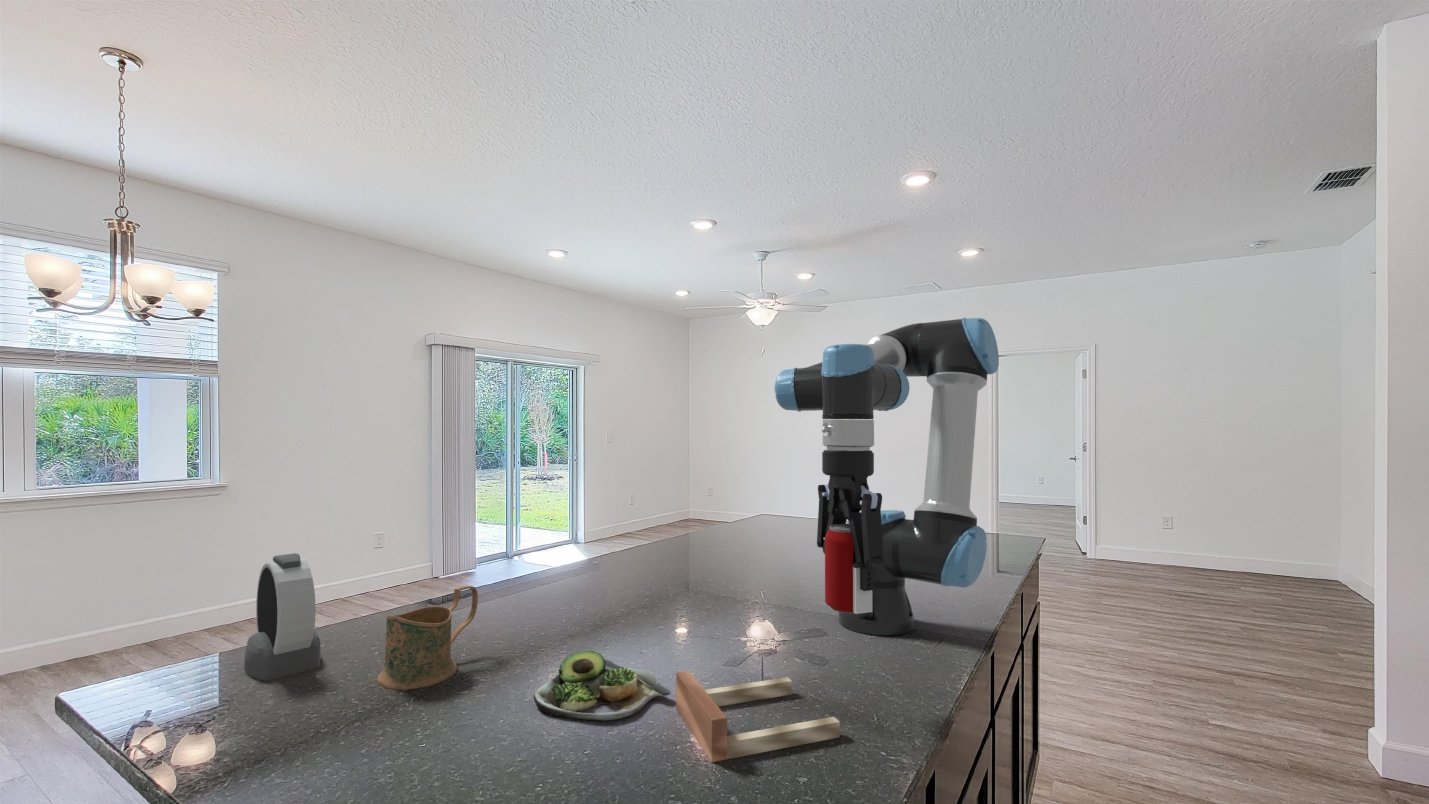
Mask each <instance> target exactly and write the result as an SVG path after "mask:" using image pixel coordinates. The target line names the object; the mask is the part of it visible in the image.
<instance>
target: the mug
mask: <svg viewBox="0 0 1429 804" xmlns="http://www.w3.org/2000/svg"><path fill="white" fill-rule="evenodd" d="M468 589H470V590H471V596H472V597H471V598H472V601H471V608H470V611H469V614H468V617H467V618H466V619H465V620H464V621H463V622H462V623H461V624H460V625H459V626H457V628H456V629H454V631H453V632H452V618H453V617H452V613H453V611H454V610H455V609H456V608H457V606H458V603H459V600H460V594H461V592H462V591H464V590H468ZM453 591H454V593H453V600H452V602H451V604H450V605H449V607H446V606H439V605H437V606H436V605H432V606H425V607H421V608H417V609H415V610H411V611H408V612H404V613H401V614H396V615H395V614H394V615H386V617H385V619H386V621H385V622H386V624H385V626H386V627H385V646H384V651H385V652H384V653H385V655H384V656H385V657H384V668H383V669H382V670H381V671H380V672H379V674H378V676H377V683H378V684H379V686H381V687H382V688H385V689H390V690H413V689H420V688H425V687H430V686H433V685H435V684H439V683H441V682H443V681H446V680H448V679H450V678H452V676H454V675H455V673H457V664H456V662H455V661H454V660H453V659H452V658H451V657H452V656H451V654H452V653H451V651H452V650H451V649H452V648H451V647H452V644H453V643H454V642H455V640H456V638H457V637H458V635H459V634H460V633H461V632H462V631H463V630H464V629H465V628H466V627H467V626H469V624H471V622H472V621H473V620H474V618H475V615H476V613H477V609H478V602H479V593H478V590H477V588H476V587H475V586H472V585H462V586H459V587H456V588H454V589H453Z"/></svg>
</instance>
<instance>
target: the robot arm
mask: <svg viewBox="0 0 1429 804" xmlns="http://www.w3.org/2000/svg"><path fill="white" fill-rule="evenodd" d="M999 363H1000V357H999V350H998V343H997V339H996V336H995V332H994V330H993V327H992V326H991V324H990V322H989V321H987V320H986V318H981V317H973V318H972V317H971V318H970V317H969V318H966V317H962V318H957V319H949V320H940V321H929V322H919V323H918V322H917V323H912V324H908V325H904V326H901V327H899V328H895V329H893V330H890V331H888V332H885V333H882V334H880V335H876V336H875V337H873V338H871V339H870V340H869V341H868V342H867V343H866V344H863V343H842V344H833V345H829V346H827V347H826V348H824V349H823V351H822V362H818V363H816V364H813V365H810V366H807V367H799V368H798V367H793V368H789V369H784V370H781V372H779V373H778V375H777V377H776V379H775V381H774V393H775V394H774V395H775V399H776V402H777V403H778V405H779V406H780V407H781V409H783V410H785V411H796V412H804V411H805V412H806V411H807V412H808V411H809V412H811V411H814V412H815V411H822V418H821V419H822V427H821V432H822V445H823V446H824V447H826V449H824V450H823V452H822V454H821V457H822V458H821V460H822V461H821V467H822V468H821V471H822V474H823V475H826V476H828V477H829V479H828V482H827V484H818V485H817V492H818V493H817V494H818V514H817V516H818V517H817V531H816V533H817V535H816V546H817V548H821V549H822V553H823V554H824V555H825V536H826V534H827V532H828V530H829V529H830V525H833V524H849V525H850V531H851V536H852V540H853V546H854V552H855V557H856V562H857V563H856V564H852V565H853V613H842V612H838V622H839V623H840V624H841V625H842V627H844V628H846V629H848V630H851V631H854V632H858V633H862V634H867V635H874V636H899V635H904V634H907V633H910V632H912V631H913V630H914V628H915V615H914V613H913V609H912V606H911V603H910V602H911V601H910V600H909V596H908V593H907V591H906V579H907V580H908V579H909V580H911V581H912V580H914V581H920V582H925V583H931V584H936V585H941V586H943V587H954V588H955V587H957V588H968V587H970V586H972V585H974V584H975V582H976V581H977V580H978V578H979V577H980V575H981V573H982V570H983V567H984V564H985V560H986V555H987V549H988V546H987V534H986V531H985V530H984V528H983V527H981V526H979V525H978V517H977V516H976V515H975V514H974V512H973V511H972V510H971V508H970V506H971V503H970V502H971V489H972V476H973V465H974V464H973V462H974V451H975V450H974V449H975V438H976V437H975V436H976V423H977V422H976V421H977V410H978V394H979V391H981V390H982V389H983V388H984V387H985V386H987V384H988V383H987V382H988V381H987V380H988V375H993V374H995V373H997V371H998V369H999V368H998V367H999V365H1000V364H999ZM908 377H910V378H911V377H926V382H927V384H928V385H930V387H931V388H932V389H933V390H932V400H931V401H932V402H931V411H930V424H929V431H928V432H929V434H928V445H927V458H926V469H925V479H924V490H923V502H922V503H921V504H919V506H917V507H916V508H915V509H914V511H913V519H908V518H906V517H907V515H906V513H905V512H904V510H898V509H897V510H896V509H895V510H894V509H888V510H887V509H886V510H881V508H882V504H883V494H882V493H881V492H873V491H871V490H870V488H869V484H868V478H869V477H871V476H873V475H874V473H875V468H874V467H875V463H874V462H875V453H874V452H873V450H871V448H872V447H874V446H875V420H874V411H879V412H883V411H885V412H889V411H891V410H892V411H893V410H895V409H897V408H900V407H901V406H902V405H903V404H904V403H906V401H907V399H908V396H909V394H910V382H909V379H908ZM863 556H864V558H863Z"/></svg>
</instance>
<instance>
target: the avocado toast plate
mask: <svg viewBox="0 0 1429 804" xmlns="http://www.w3.org/2000/svg"><path fill="white" fill-rule="evenodd" d="M557 671H558V675H556V676H555V677H554V678H552V679H550V681H548V682H546V683H545V684H543V685H542V686H540V687H539V688H538V689H537V690H536V691H535V693H534V695H533V701H534V703H535V704H536V705H535V706H537V707H538V708H539V709H540V710H541V711H543V712H544V713H547V714H549V715H552V716H557V717H563V718H570V719H578V720H590V721H613V720H620V719H623V718H627V717H630V716H633V715H634V714H636V713H638V712H640V711H641V710H642V709H643V708H644V707H645V705H646V704H647V703H648V702H650V701H651V700H652V699H654V698H655V697H656V698H657V697H659V696H660V697H661V696H662V697H666V696H670V695H671V694H672V691H671V690H670V689H668V688H666V687H665V686H662V685H660V684H659V680H658V678H657V676H656V675H655V674H654V673H653V672H651V671H650V670H646V669H645V670H644V669H637V668H630V667H629V668H628V667H625V666H620V665H618V664H616V663H614V662H612V661H611V660H608V659H605V658H604V656H603V655H602V654H601V653H600V652H597V651H594V650H582V651H578V652H577V651H576V652H575V653H573V654H571V655H569V656H568V657H566V658H565V659H564V660H563V661H562V662H561V663H560V665H559V668H558V670H557ZM607 704H608V705H609V704H610V705H613V706H614V705H620V709H618V710H612V711H606V712H598V713H593V712H592V713H591V712H590V713H589V712H583V711H585V710H588V709H590V708H592V707H594V706H595V707H596V706H598V705H607Z"/></svg>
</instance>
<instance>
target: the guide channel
mask: <svg viewBox="0 0 1429 804" xmlns="http://www.w3.org/2000/svg"><path fill="white" fill-rule="evenodd" d="M675 676H676V677H675V709H676V710H677V712H678V714H679V715H680V717H681V719H682V720H683V721H684V723H685V724H686V726H687V727H688V730H689V731H690V732H691V734H692V735H693V736H694V738H695V739H696V741H697V743H698V745H699V746H700V747H701V749H702V751H704V754H705V755H706V756H707V759H709V761H710V763H716V762H721V761H725V760H729V759H730V760H731V759H735V758H736V759H737V758H741V757H747V756H751V755H757V754H762V753H765V752H770V751H771V752H773V751H776V750H781V749H787V748H793V747H796V746H797V747H798V746H803V745H807V744H812V743H813V744H814V743H817V742H818V743H819V742H823V741H827V740H832V739H837V738H841V722H840V720H838V719H837V717H835V716H830V717H825V718H819V719H813V720H808V721H801V722H797V723H791V724H786V725H780V726H775V727H769V728H764V729H760V730H753V731H752V730H751V731H748V732H741V733H735V734H730V735H728V716H726V714H724V712H723V710H721V708H720V707H723V706H730V705H735V704H741V703H748V702H755V701H758V700H765V699H772V698H778V697H784V696H789V695H791V696H792V695H793V680H792V679H791V678H789V677H788V676H787V677H781V678H774V679H768V680H767V679H765V680H761V681H760V680H759V681H753V682H747V683H740V684H735V685H726V686H722V687H721V686H720V687H715V688H714V687H713V688H707V689H705V688H703V686H702V685H701V684H700V682H699V681H698V680H697V678H696V677H695V676H694V675H693V674H692V673H691V671H690V670H689V671H682V672H676V673H675Z"/></svg>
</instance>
